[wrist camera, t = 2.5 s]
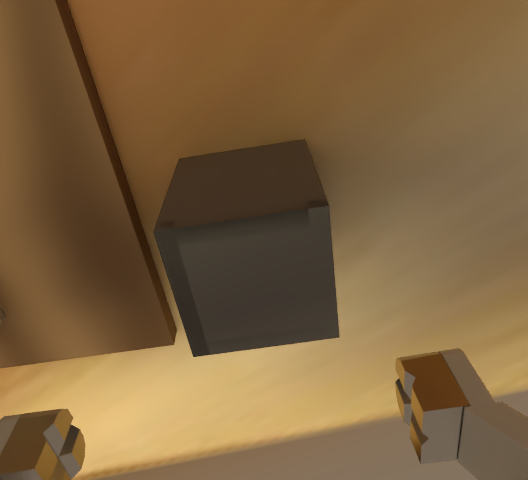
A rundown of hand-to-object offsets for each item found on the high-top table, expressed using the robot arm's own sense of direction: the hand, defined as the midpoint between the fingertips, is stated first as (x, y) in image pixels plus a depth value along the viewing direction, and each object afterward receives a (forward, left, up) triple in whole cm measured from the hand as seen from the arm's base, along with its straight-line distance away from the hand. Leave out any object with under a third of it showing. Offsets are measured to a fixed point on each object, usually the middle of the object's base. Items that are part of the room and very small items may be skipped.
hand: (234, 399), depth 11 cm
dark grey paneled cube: (-1, 0, -10) cm, 10 cm away
